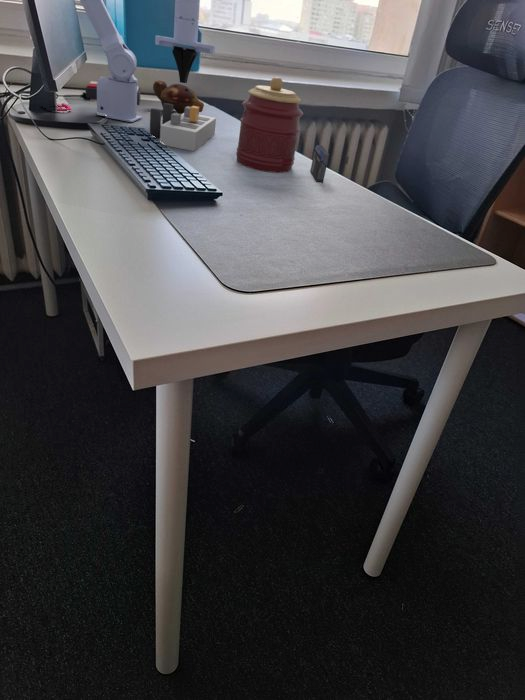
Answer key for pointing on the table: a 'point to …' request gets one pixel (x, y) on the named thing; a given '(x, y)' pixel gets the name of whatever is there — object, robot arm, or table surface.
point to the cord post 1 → (155, 122)
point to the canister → (269, 128)
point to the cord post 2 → (167, 112)
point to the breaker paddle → (194, 113)
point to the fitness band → (63, 106)
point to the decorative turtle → (176, 96)
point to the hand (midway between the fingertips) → (183, 82)
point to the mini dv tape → (319, 163)
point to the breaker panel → (187, 131)
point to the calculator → (92, 91)
